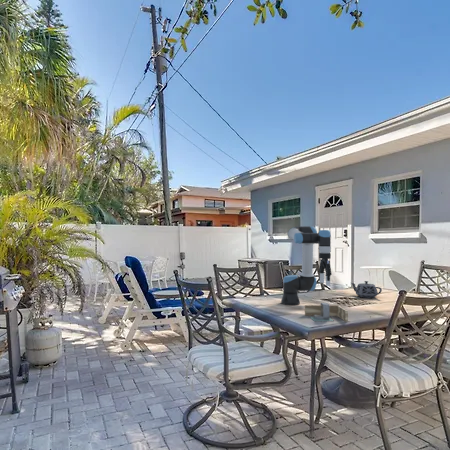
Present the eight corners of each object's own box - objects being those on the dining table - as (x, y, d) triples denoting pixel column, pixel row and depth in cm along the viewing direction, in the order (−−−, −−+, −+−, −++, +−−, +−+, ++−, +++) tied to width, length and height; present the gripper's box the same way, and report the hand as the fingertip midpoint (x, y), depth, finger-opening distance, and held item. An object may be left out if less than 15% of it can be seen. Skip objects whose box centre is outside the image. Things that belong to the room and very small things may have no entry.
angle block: (326, 317, 224) (326, 302, 224) (329, 319, 218) (329, 304, 218) (313, 317, 224) (313, 302, 224) (315, 319, 218) (315, 304, 218)
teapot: (355, 293, 326) (355, 278, 327) (386, 298, 302) (386, 281, 303) (345, 295, 314) (344, 280, 315) (376, 300, 290) (376, 283, 291)
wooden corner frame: (304, 315, 233) (304, 305, 233) (338, 315, 232) (338, 305, 233) (311, 321, 215) (311, 310, 215) (348, 321, 214) (347, 310, 215)
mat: (310, 317, 226) (310, 316, 226) (329, 317, 226) (329, 317, 226) (314, 321, 216) (314, 320, 216) (333, 321, 216) (333, 320, 216)
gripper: (314, 251, 235) (314, 281, 234) (324, 253, 210) (324, 287, 209) (324, 251, 235) (325, 281, 234) (336, 253, 210) (336, 287, 209)
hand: (325, 284), depth 222 cm, fingers open, 13 cm apart
